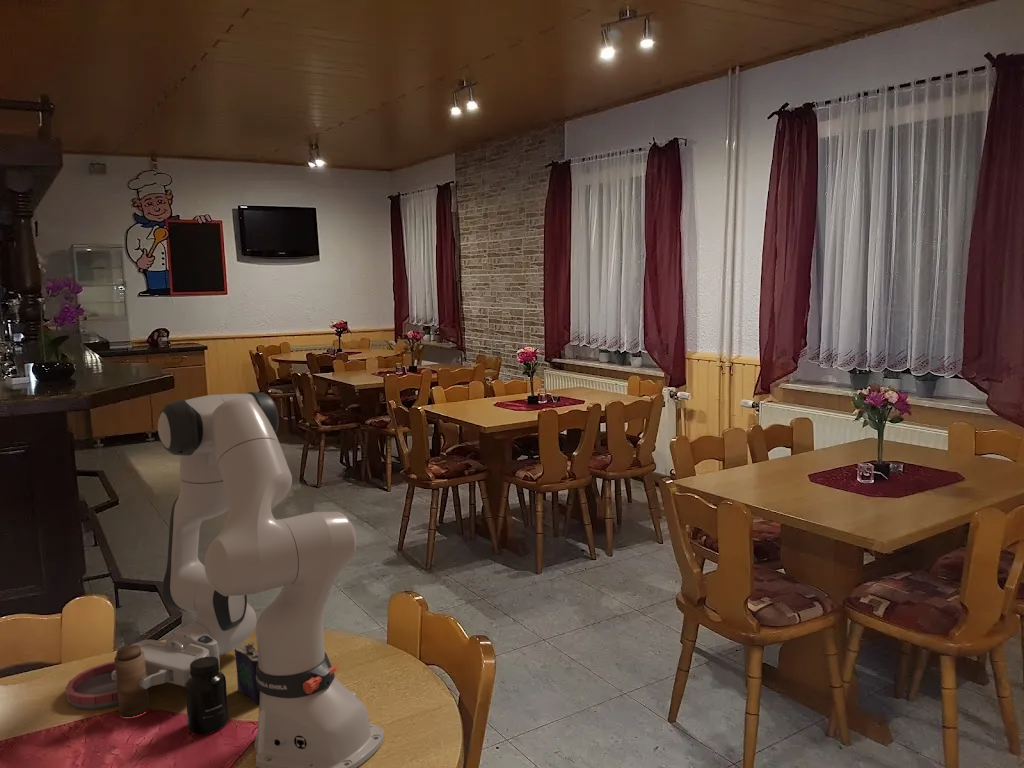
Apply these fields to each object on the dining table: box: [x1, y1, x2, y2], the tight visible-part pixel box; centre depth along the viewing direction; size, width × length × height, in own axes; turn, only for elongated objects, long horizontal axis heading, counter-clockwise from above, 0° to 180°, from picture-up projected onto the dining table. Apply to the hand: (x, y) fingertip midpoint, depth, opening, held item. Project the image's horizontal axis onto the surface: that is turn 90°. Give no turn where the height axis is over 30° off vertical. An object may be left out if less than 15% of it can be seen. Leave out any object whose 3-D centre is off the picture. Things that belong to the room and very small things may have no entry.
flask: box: [234, 641, 260, 706], centre depth 150 cm, size 9×3×11 cm, turn 45°
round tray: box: [65, 661, 119, 711], centre depth 155 cm, size 15×15×2 cm
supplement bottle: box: [185, 657, 229, 735], centre depth 140 cm, size 7×7×12 cm
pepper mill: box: [113, 644, 150, 717], centre depth 146 cm, size 5×5×12 cm
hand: (127, 680), depth 145 cm, fingers open, 6 cm apart
